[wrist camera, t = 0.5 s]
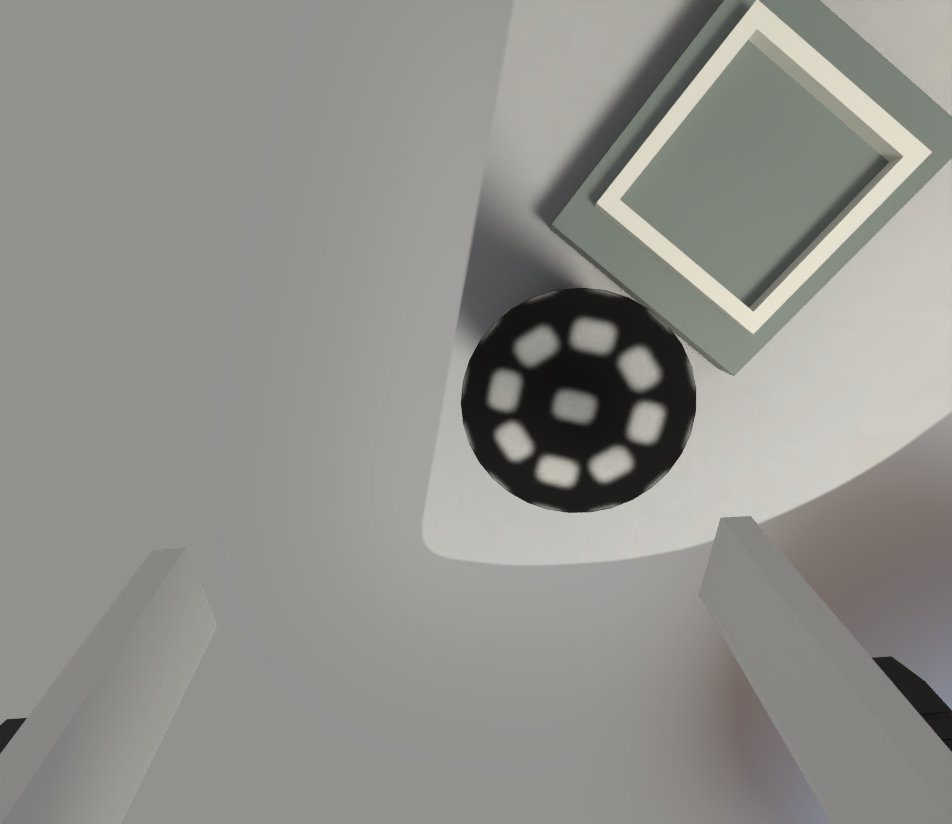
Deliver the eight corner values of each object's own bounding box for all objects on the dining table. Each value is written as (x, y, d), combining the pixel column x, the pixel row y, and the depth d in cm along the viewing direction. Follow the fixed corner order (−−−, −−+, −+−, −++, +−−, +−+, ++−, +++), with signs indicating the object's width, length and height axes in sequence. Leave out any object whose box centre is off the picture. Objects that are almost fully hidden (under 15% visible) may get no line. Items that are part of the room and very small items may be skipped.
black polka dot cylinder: (496, 386, 38) (443, 483, 19) (519, 280, 36) (485, 265, 16) (600, 410, 37) (656, 536, 18) (630, 303, 35) (730, 315, 16)
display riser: (741, -17, 29) (772, -66, 25) (933, 151, 30) (992, 128, 26) (551, 229, 34) (551, 221, 30) (718, 369, 35) (740, 379, 31)
